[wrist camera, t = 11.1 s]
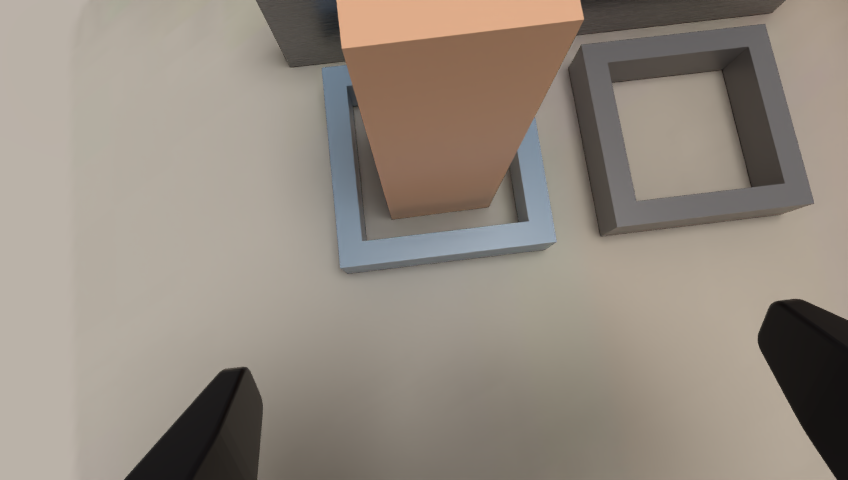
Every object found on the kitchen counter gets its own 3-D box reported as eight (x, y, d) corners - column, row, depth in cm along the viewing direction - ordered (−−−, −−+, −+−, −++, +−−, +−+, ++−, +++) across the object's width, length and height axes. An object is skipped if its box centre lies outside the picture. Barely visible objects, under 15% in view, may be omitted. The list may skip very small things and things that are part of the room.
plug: (488, 207, 23) (584, 19, 9) (391, 219, 23) (341, 48, 9) (471, 100, 24) (535, -213, 10) (378, 112, 24) (315, -189, 10)
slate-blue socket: (545, 249, 23) (556, 241, 21) (347, 273, 22) (340, 268, 20) (514, 68, 24) (522, 45, 22) (330, 89, 24) (321, 67, 22)
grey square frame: (780, 214, 23) (814, 203, 21) (600, 236, 23) (617, 227, 21) (737, 48, 24) (765, 23, 22) (568, 68, 24) (581, 44, 22)
